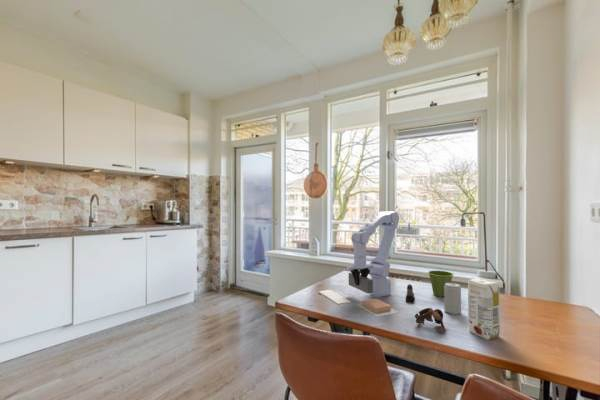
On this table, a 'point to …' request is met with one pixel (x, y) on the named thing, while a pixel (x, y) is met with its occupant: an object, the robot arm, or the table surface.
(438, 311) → the brown toy animal
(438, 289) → the plant pot
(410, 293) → the hand tool
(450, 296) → the beverage can
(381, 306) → the tile
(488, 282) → the juice carton
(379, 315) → the mat
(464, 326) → the table surface
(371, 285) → the dark grey block
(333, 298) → the tool rest
